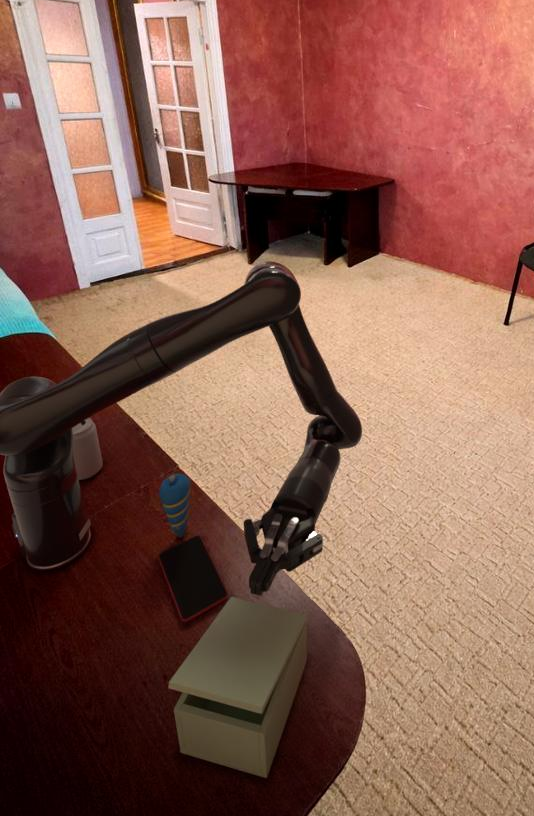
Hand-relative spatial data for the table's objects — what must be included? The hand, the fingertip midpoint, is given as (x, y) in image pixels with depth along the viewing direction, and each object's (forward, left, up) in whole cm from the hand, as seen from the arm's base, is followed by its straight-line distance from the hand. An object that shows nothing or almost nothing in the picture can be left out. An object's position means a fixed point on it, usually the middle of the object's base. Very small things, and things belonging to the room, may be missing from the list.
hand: (255, 590), depth 63 cm
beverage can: (-53, +28, -17) cm, 63 cm away
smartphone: (-18, +11, -17) cm, 27 cm away
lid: (0, -4, -6) cm, 7 cm away
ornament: (-24, +18, -17) cm, 35 cm away
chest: (0, -4, -17) cm, 17 cm away
